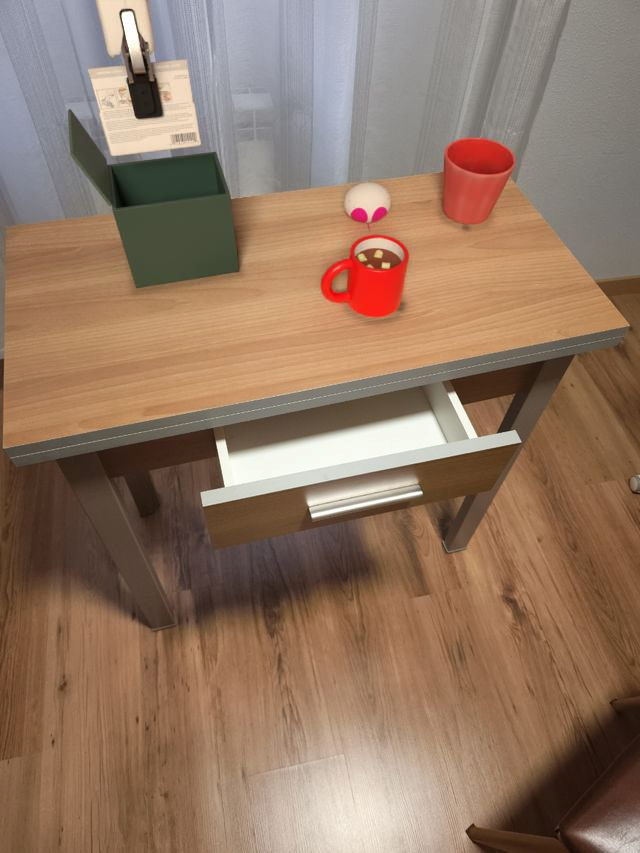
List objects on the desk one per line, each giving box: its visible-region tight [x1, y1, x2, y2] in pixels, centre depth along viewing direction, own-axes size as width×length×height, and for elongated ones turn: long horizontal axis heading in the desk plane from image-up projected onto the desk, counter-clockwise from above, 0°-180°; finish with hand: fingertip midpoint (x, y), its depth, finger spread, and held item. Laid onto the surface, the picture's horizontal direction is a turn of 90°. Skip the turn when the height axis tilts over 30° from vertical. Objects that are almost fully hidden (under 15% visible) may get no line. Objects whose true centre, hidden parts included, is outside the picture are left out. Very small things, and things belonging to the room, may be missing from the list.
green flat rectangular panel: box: [67, 108, 112, 207], centre depth 71 cm, size 7×11×1 cm
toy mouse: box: [343, 181, 392, 232], centre depth 91 cm, size 8×8×7 cm
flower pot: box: [442, 136, 516, 226], centre depth 91 cm, size 11×11×10 cm
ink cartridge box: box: [87, 58, 202, 157], centre depth 67 cm, size 2×11×10 cm, turn 106°
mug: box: [320, 234, 410, 318], centre depth 78 cm, size 8×12×8 cm, turn 110°
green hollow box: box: [107, 151, 240, 289], centre depth 81 cm, size 15×11×12 cm
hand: (147, 109), depth 67 cm, fingers closed on ink cartridge box, 2 cm apart
